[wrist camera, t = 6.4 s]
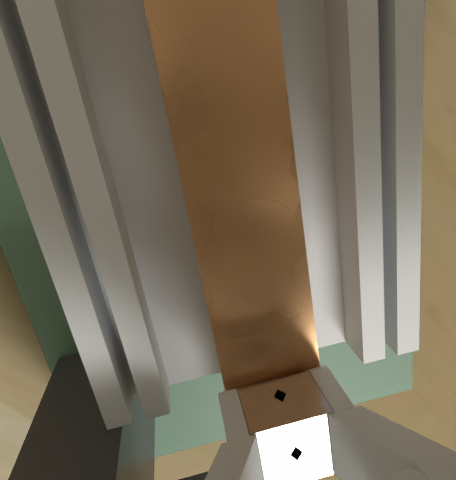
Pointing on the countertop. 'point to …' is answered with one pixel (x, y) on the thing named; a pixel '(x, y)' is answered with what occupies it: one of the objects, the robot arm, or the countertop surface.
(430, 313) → the countertop surface
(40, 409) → the block
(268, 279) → the strap
